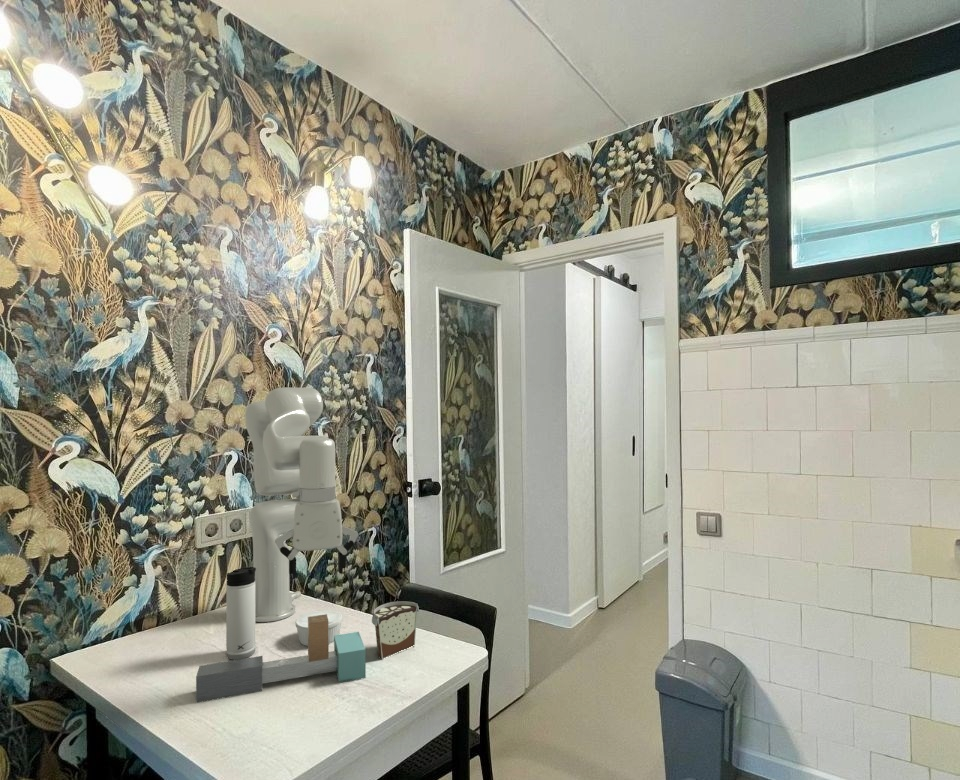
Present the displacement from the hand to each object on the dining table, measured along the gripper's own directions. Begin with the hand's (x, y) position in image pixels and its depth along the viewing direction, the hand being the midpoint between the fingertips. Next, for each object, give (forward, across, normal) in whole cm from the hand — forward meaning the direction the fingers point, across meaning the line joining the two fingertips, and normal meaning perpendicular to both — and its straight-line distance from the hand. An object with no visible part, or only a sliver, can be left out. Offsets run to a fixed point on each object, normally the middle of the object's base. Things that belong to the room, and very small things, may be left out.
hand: (317, 574), depth 119 cm
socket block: (+21, +7, -1) cm, 22 cm away
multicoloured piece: (+20, -3, 0) cm, 21 cm away
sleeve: (+21, -17, -1) cm, 27 cm away
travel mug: (+22, -16, +17) cm, 32 cm away
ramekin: (+22, +2, +19) cm, 29 cm away
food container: (+22, +17, +7) cm, 28 cm away
